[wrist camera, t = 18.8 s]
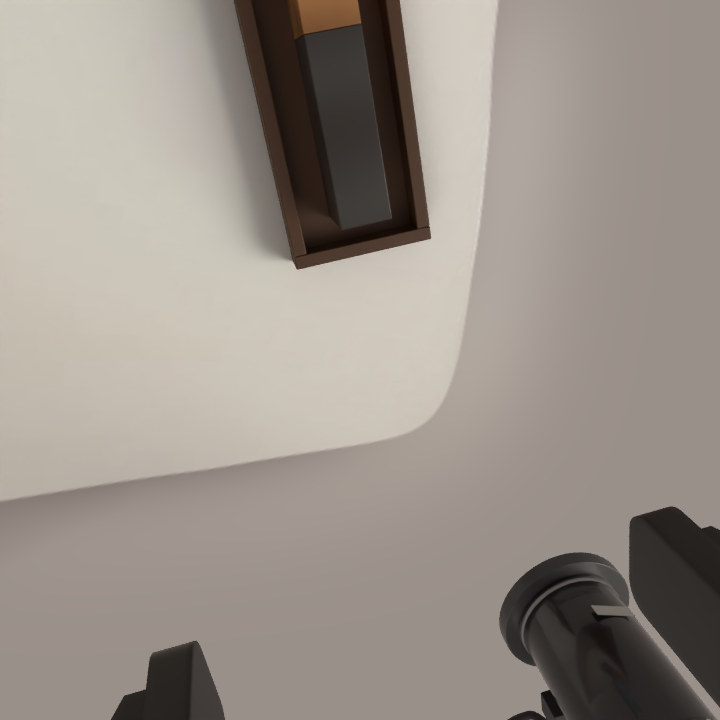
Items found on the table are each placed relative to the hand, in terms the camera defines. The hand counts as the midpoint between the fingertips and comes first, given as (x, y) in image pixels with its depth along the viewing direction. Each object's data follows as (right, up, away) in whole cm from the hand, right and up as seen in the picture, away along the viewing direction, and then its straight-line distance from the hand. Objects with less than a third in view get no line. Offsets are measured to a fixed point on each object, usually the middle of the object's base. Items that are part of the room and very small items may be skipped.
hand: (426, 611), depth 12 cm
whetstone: (-3, +23, +24) cm, 33 cm away
